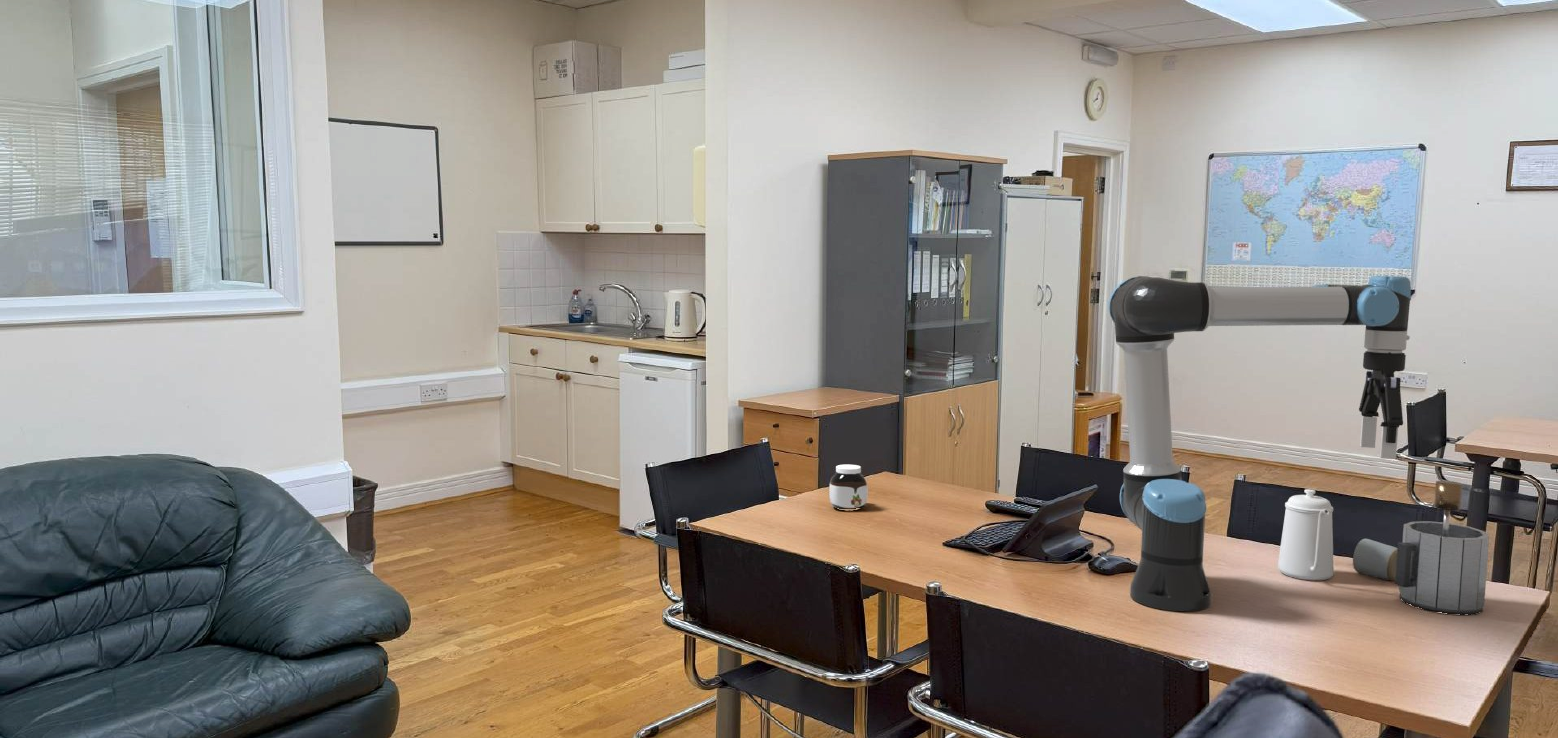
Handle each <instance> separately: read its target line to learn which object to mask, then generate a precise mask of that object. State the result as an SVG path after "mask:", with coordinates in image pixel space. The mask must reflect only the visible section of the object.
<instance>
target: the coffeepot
mask: <svg viewBox="0 0 1558 738" xmlns="http://www.w3.org/2000/svg"><path fill="white" fill-rule="evenodd" d="M1315 494H1316V490H1314V489H1304V494H1295V495H1292V496H1290V497H1289V498H1288V500H1287V501H1286V502H1285V503H1284V507H1285V513H1284V518H1283V519H1284V520H1283V527H1282V532H1281V540H1280V547H1279V555H1278V561H1277V569H1278V571H1279V572H1280V573H1282V574H1283V575H1285V576H1288V577H1290V578H1293V577H1294V579H1298V580H1305V581H1316V580H1317V581H1325V580H1329V579H1331V578H1332V577H1333V576H1334V569H1335V568H1334V539H1333V538H1334V536H1333V534H1334V532H1333V531H1334V530H1333V529H1334V528H1333V512H1334V507H1333V506H1332V505H1331V502H1330V500H1328V499H1327V498H1324V497H1322V496H1318V495H1315ZM1317 581H1316V582H1317Z"/></svg>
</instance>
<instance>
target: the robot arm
mask: <svg viewBox="0 0 1558 738" xmlns="http://www.w3.org/2000/svg"><path fill="white" fill-rule="evenodd" d="M1411 289H1412V288H1411V280H1410V279H1409V278H1408V277H1406V276H1399V275H1398V276H1395V275H1394V276H1393V275H1388V276H1387V275H1372V276H1370V278H1369V279H1368V283H1367V284H1365V285H1358V284H1357V285H1354V284H1353V285H1352V284H1327V283H1326V284H1314V285H1312V286H1255V287H1254V286H1247V287H1245V286H1244V287H1243V286H1239V287H1238V286H1237V287H1228V286H1227V287H1226V286H1225V287H1224V286H1223V287H1218V286H1217V287H1209V285H1208V284H1207V283H1205V282H1199V281H1198V282H1193V281H1189V282H1188V281H1181V280H1176V279H1175V280H1174V279H1168V278H1165V277H1164V278H1163V277H1153V276H1144V275H1143V276H1142V275H1138V276H1133V277H1131V278H1128V279H1126V280H1124V281H1122V282H1120V283H1119V284H1118V285H1116V287H1115V288H1114V290H1113V291H1112V293H1111V295H1110V297H1109V301H1108V311H1109V315H1110V317H1111V320H1112V321H1113V323H1114V335H1115V344H1116V345H1118V346H1119V348H1121V349H1122V351H1123V356H1124V357H1123V358H1124V359H1123V360H1124V378H1125V393H1126V395H1125V396H1126V411H1127V426H1128V427H1127V428H1128V448H1129V462H1128V463H1127V464H1126V466H1124V468H1123V470H1122V472H1123V484H1122V485H1121V487H1120V491H1119V492H1120V493H1119V503H1120V506H1121V510H1122V512H1123V513H1124V516H1125V517H1126V518H1127V519H1128V520H1129V521H1130V522H1131V523H1132V524H1134V526H1136V527H1137V528H1138V529H1139V530H1141V547H1140V549H1141V551H1140V560H1139V562H1138V566H1137V567H1136V570H1135V573H1134V574H1133V575H1134V576H1133V577H1132V581H1131V583H1130V592H1129V594H1130V598H1131V599H1132V600H1133V601H1135V602H1136V603H1138V604H1141V605H1143V606H1146V607H1149V608H1155V609H1159V610H1164V611H1171V612H1194V611H1201V610H1205V609H1207V608H1209V607H1210V606H1211V596H1212V595H1211V589H1210V586H1209V583H1208V579H1207V576H1206V573H1205V570H1204V565H1203V561H1204V542H1205V541H1204V540H1205V525H1206V523H1205V522H1206V512H1207V503H1206V495H1205V494H1206V493H1205V492H1204V491H1203V489H1202V488H1201V487H1199V486H1198V485H1197V484H1194V483H1192V482H1187V481H1185V480H1183V479H1182V468H1181V466H1179V465H1178V464H1177V463H1176V462H1175V461H1174V456H1173V440H1172V420H1171V419H1172V417H1171V401H1170V400H1171V399H1170V398H1171V397H1170V396H1171V395H1170V379H1169V363H1168V361H1169V360H1168V348H1169V346H1170V345H1171V344H1172V343H1173V342H1174V341H1175V334H1178V333H1186V332H1204V331H1206V330H1207V329H1208V328H1209V327H1235V326H1236V327H1249V326H1250V327H1251V326H1252V327H1253V326H1254V327H1255V326H1257V327H1258V326H1261V327H1262V326H1365V330H1364V332H1365V333H1364V341H1363V343H1364V344H1363V349H1366V350H1365V351H1364V353H1363V361H1362V367H1363V369H1365V370H1367V371H1366V374H1365V375H1366V376H1365V382H1364V386H1363V390H1362V395H1361V399H1360V404H1359V407H1358V411H1359V412H1361V413H1360V414H1361V427H1360V440H1359V447H1360V448H1367V449H1368V448H1370V449H1373V448H1376V439H1377V438H1376V437H1377V423H1378V417H1380V414H1379V412H1378V409H1379V407H1381V413H1382V418H1383V420H1382V421H1381V423H1380V426H1379V427H1381V437H1380V451H1379V452H1380V453H1379V458H1380V459H1384V460H1396V459H1397V448H1398V447H1397V446H1398V437H1399V427H1400V426H1403V424H1404V418H1403V407H1402V394H1401V381H1402V380H1401V377H1395V373H1396V372H1403V371H1404V370H1405V369H1406V358H1407V357H1406V356H1407V355H1406V354H1405V353H1406V352H1403V351H1406V349H1407V341H1409V340H1410V335H1408V330H1409V329H1408V328H1409V315H1410V304H1411V300H1412V296H1411V292H1412V291H1411Z"/></svg>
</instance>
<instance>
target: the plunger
mask: <svg viewBox="0 0 1558 738" xmlns="http://www.w3.org/2000/svg"><path fill="white" fill-rule="evenodd" d="M1434 490H1435V491H1434V504H1433V506H1434V508H1436V509H1439V510H1443V521H1442V523H1443V533H1442V537H1448V533H1449V523H1450V519H1451V518H1450V514H1451V511H1460V510H1461V505H1462V495H1463V494H1462V493H1463V483H1461V482H1457V481H1452V480H1437V481H1435V489H1434Z"/></svg>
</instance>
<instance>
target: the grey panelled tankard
mask: <svg viewBox="0 0 1558 738" xmlns="http://www.w3.org/2000/svg"><path fill="white" fill-rule="evenodd" d="M1402 530H1403V531H1402V542H1397V547H1396V548H1397V563H1396V578H1395V580H1394V583H1395V585H1397V586H1398V587H1399V590H1398V592H1399V600H1400V599H1402V600H1403V601H1404V602H1405V603H1404V602H1403V603H1404V604H1406V603H1408V604H1411V605H1412V606H1414V607H1413V608H1415V607H1419V608H1422V609H1424V610H1423V611H1426V610H1427V611H1426V612H1430V611H1431V613H1435V612H1442V613H1447V614H1446V615H1449V614H1460V615H1459V616H1466V615H1465V614H1468V615H1467V616H1472V615H1471V614H1475V615H1477V614H1476V613H1479V612H1481V613H1482V612H1483V609H1484V607H1485V598H1486V588H1487V587H1486V584H1487V573H1488V571H1487V570H1488V562H1489V561H1488V558H1489V545H1490V535H1489V533H1488V532H1486V531H1485V530H1480V529H1478V528H1475V527H1472V526H1467V525H1464V524H1463V525H1462V524H1457V523H1450V522H1449V533H1448V537H1442V533H1443V521H1442V522H1441V521H1440V522H1438V521H1430V520H1429V521H1426V520H1425V521H1424V520H1423V521H1421V520H1420V521H1410V522H1407V523H1404V524H1403V529H1402ZM1408 604H1407V605H1408ZM1412 606H1411V607H1412ZM1422 609H1421V610H1422ZM1479 614H1480V613H1479Z"/></svg>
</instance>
